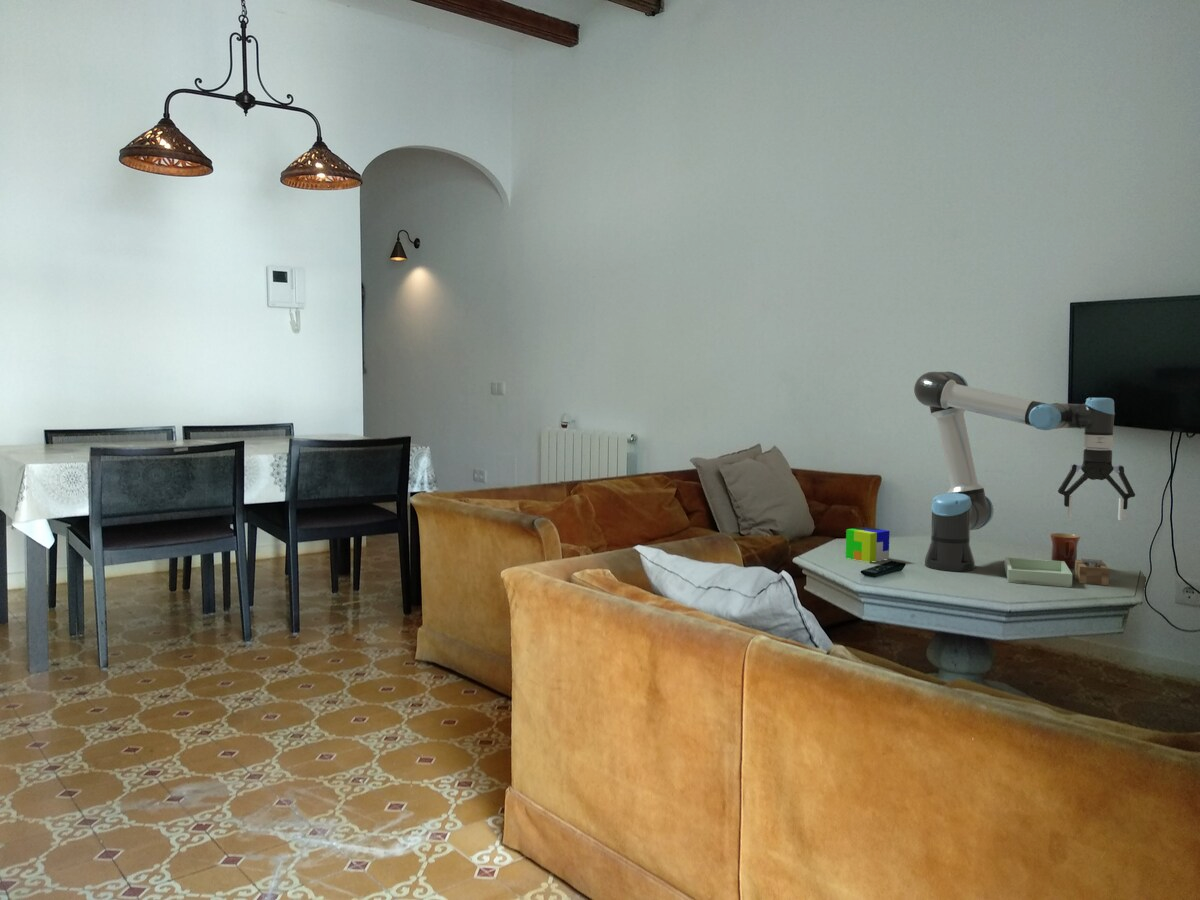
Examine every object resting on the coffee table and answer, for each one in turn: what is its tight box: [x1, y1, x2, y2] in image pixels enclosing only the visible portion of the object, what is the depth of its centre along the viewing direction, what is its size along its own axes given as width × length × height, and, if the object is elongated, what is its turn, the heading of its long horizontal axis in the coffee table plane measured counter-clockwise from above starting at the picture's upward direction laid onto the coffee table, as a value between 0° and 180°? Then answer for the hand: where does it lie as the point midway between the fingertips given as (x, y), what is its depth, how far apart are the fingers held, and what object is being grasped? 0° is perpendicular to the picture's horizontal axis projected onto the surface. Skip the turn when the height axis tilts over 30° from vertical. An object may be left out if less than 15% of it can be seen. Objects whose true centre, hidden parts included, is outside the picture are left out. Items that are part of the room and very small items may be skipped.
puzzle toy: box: [845, 526, 891, 562], centre depth 295 cm, size 10×10×10 cm
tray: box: [1004, 556, 1073, 588], centre depth 267 cm, size 17×20×4 cm
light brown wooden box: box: [1074, 559, 1110, 586], centre depth 263 cm, size 11×8×5 cm
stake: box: [1081, 557, 1103, 567], centre depth 263 cm, size 5×2×7 cm, turn 68°
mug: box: [1049, 532, 1081, 569], centre depth 281 cm, size 12×9×10 cm
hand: (1094, 518), depth 263 cm, fingers open, 13 cm apart
